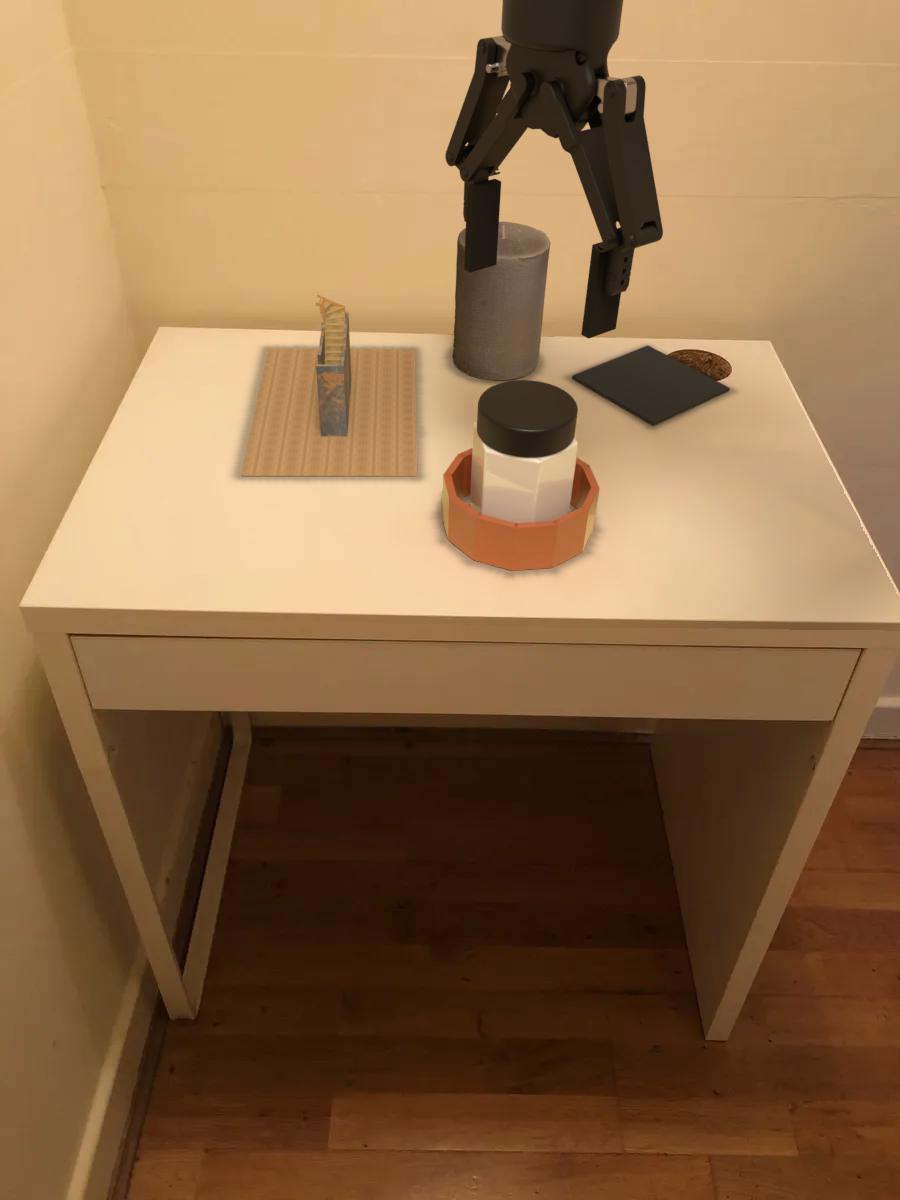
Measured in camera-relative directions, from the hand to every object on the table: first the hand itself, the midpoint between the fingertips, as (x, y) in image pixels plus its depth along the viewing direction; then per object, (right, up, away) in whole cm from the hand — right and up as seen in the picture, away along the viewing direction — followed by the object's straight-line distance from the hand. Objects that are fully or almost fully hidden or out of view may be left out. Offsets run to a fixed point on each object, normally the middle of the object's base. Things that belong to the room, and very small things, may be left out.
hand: (536, 298), depth 74 cm
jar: (-1, -16, +13) cm, 21 cm away
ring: (-1, -16, +13) cm, 20 cm away
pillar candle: (-1, +4, +35) cm, 35 cm away
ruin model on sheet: (-18, -3, +27) cm, 33 cm away
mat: (+15, 0, +32) cm, 35 cm away
